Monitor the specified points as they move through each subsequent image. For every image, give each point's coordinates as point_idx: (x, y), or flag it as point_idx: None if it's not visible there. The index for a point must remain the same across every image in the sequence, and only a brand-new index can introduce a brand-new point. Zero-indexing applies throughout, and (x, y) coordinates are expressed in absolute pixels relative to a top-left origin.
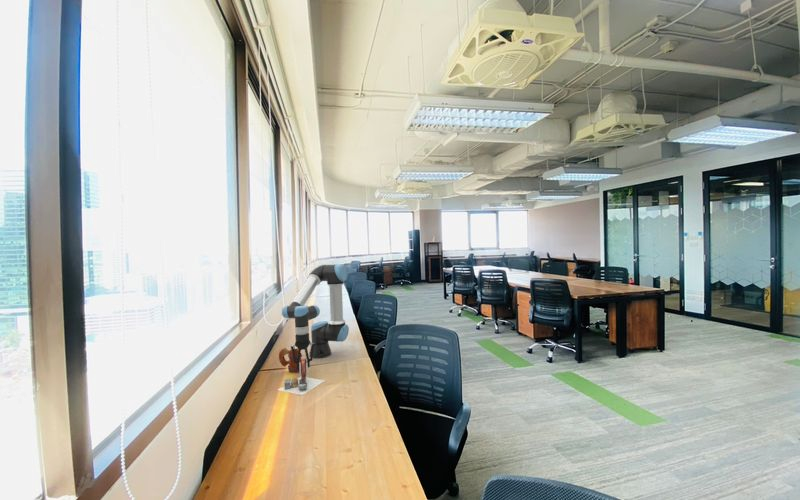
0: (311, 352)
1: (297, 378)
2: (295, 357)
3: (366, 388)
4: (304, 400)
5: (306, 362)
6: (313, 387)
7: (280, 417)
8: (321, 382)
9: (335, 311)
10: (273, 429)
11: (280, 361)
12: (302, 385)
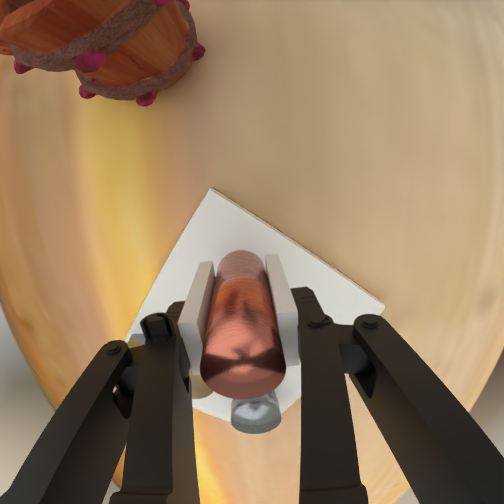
0: (406, 454)
1: (184, 231)
2: (117, 417)
3: (481, 364)
4: (268, 439)
5: (286, 354)
6: None
7: (207, 481)
8: None
9: None
10: (207, 498)
11: (2, 52)
12: (256, 432)
